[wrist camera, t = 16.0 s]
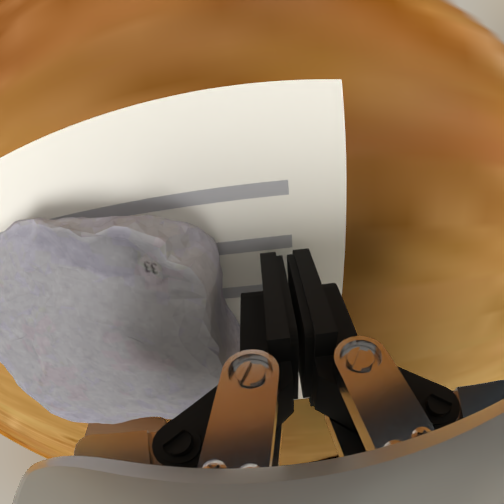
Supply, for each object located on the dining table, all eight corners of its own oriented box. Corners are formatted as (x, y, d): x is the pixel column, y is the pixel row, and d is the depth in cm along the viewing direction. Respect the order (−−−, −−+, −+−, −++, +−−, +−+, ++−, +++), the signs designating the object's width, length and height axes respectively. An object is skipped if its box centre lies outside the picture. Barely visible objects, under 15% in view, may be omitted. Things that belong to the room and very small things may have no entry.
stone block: (7, 225, 11) (71, 378, 15) (-55, 253, 7) (38, 431, 10) (217, 162, 11) (259, 368, 14) (197, 165, 6) (265, 443, 10)
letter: (328, 391, 16) (329, 395, 16) (51, 389, 17) (50, 391, 16) (339, 79, 8) (341, 79, 8) (-56, 192, 9) (-58, 194, 8)
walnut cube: (186, 448, 20) (181, 509, 15) (125, 442, 20) (113, 497, 15) (163, 417, 17) (151, 493, 12) (93, 409, 17) (73, 474, 12)
